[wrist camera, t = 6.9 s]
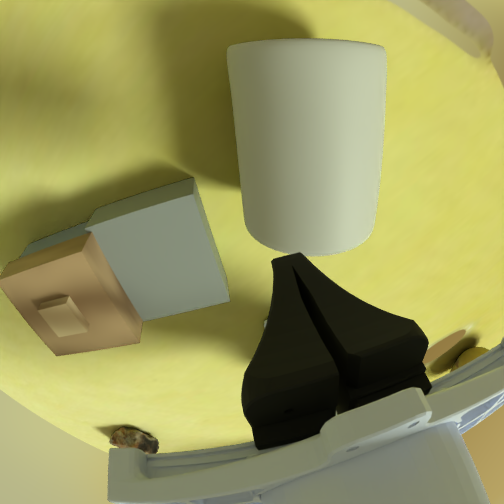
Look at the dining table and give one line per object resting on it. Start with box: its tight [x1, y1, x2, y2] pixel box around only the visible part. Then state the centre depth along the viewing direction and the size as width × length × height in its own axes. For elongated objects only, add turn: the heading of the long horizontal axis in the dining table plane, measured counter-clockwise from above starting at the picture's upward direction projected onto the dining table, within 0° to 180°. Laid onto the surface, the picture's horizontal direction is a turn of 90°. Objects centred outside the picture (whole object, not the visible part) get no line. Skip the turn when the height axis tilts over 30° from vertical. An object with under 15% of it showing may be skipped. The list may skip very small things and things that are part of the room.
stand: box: [84, 177, 230, 321], centre depth 23 cm, size 10×8×3 cm
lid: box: [0, 232, 143, 356], centre depth 20 cm, size 9×9×3 cm
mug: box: [227, 38, 387, 256], centre depth 17 cm, size 12×8×11 cm
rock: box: [109, 427, 159, 454], centre depth 42 cm, size 9×6×10 cm
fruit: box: [450, 347, 489, 372], centre depth 43 cm, size 11×12×10 cm
